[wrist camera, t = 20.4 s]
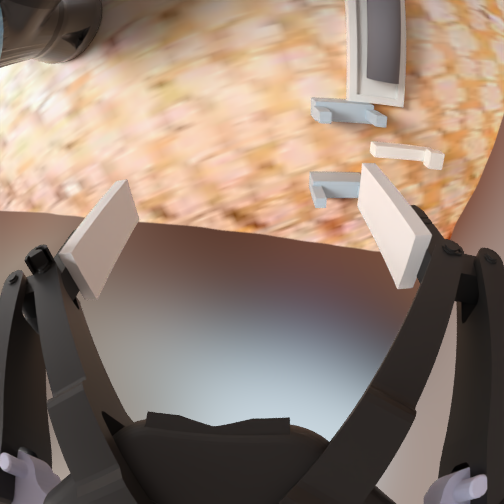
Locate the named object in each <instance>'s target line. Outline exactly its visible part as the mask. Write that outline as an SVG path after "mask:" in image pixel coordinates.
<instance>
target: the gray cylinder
mask: <svg viewBox="0 0 504 504" xmlns="http://www.w3.org/2000/svg"><path fill="white" fill-rule="evenodd" d="M400 54H401V3H400V0H367V77H366V78H368V79H372V80H376V81H381V82H386V83H392V84H399V73H400Z"/></svg>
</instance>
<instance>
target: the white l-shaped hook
mask: <svg viewBox="0 0 504 504" xmlns="http://www.w3.org/2000/svg"><path fill="white" fill-rule="evenodd" d="M370 153H371V154H372V155H373V156H374V157H380V158H393V159H405V160H415V161H424V162H423V164H424V165H425V166H426V167H427V168H428V169H436V170H442V166H443V161H444V156H445V154H444V153H442V152H441V151H440V150H435V149H432V148H430V147H423V146H415V145H407V144H397V143H387V142H376V141H371V146H370Z"/></svg>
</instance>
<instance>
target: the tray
mask: <svg viewBox="0 0 504 504" xmlns="http://www.w3.org/2000/svg"><path fill="white" fill-rule="evenodd" d="M400 3H401V54H400V73H399V84H392V83H386V82H381V81H376V80H372V79H368V78H366V77H367V0H345V14H346V42H347V85H346V100H348V101H355V102H365V103H374V104H382V105H390V106H397V107H403V106H404V93H405V76H406V14H405V0H400Z"/></svg>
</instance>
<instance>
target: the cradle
mask: <svg viewBox="0 0 504 504" xmlns="http://www.w3.org/2000/svg"><path fill="white" fill-rule="evenodd" d="M311 116H312V117H313V118H314V120H315V121H318V122H319V123H330V124H331V121H334V122H351V123H365V124H373V125H374V126H376V127H385V128H386V125H387V116H385V115H383V114H381V113H380V112H378V111H376V110H374V105H372V104H370V103H365V102H355V101H348V100H346V99H332V98H311ZM360 180H361V174H360V173H359V172H310V176H309V189H310V192H311V196H312V199H313V202H314V205H315V208H326V200H327V198H358V197H359V189H360Z"/></svg>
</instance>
